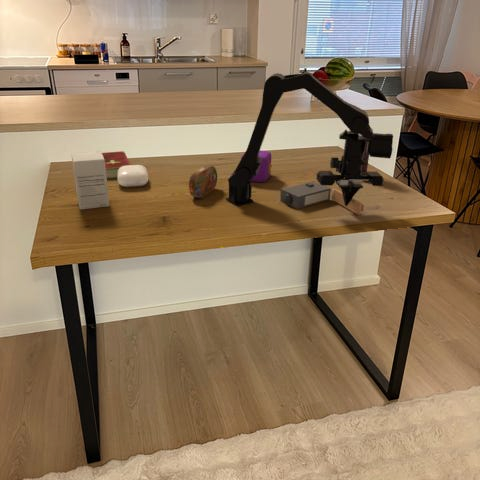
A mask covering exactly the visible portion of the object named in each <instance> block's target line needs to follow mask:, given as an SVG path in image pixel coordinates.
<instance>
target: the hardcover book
mask: <svg viewBox="0 0 480 480" xmlns="http://www.w3.org/2000/svg"><path fill="white" fill-rule="evenodd" d="M101 153H102V155H103V157H104V160H105V167H106V176H107V179H110V178H117V172H118V169H119V168H120V167H122V166H126V165H131V163H130V161H129V158H128V156H127V154H126V152H125V151H124V150H121V151H119V150H118V151H107V152H105V151H104V152H101Z"/></svg>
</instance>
